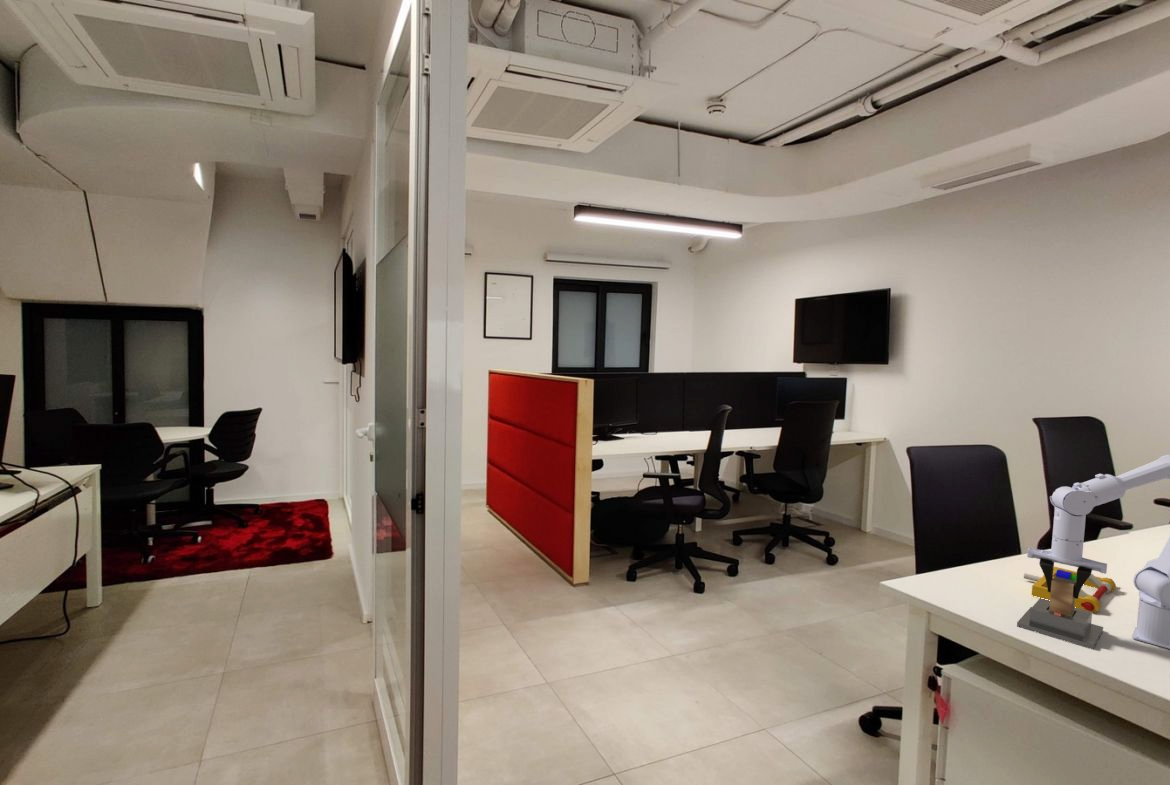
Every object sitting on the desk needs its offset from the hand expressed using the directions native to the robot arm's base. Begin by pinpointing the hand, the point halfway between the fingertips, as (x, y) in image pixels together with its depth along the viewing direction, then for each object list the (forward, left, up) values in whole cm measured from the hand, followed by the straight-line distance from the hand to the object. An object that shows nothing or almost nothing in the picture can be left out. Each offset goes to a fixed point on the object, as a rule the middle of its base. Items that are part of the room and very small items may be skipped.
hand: (1062, 594), depth 139 cm
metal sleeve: (0, 0, -8) cm, 8 cm away
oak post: (0, 0, -5) cm, 5 cm away
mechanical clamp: (+4, -33, -9) cm, 34 cm away
